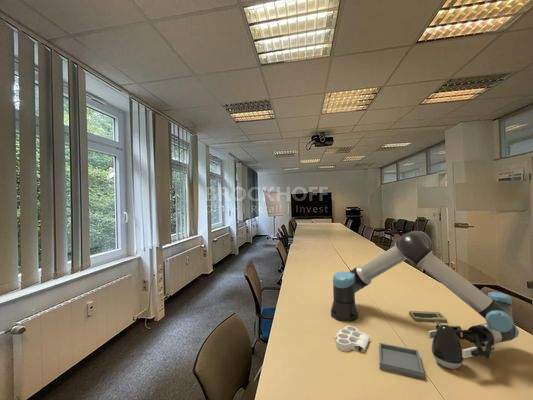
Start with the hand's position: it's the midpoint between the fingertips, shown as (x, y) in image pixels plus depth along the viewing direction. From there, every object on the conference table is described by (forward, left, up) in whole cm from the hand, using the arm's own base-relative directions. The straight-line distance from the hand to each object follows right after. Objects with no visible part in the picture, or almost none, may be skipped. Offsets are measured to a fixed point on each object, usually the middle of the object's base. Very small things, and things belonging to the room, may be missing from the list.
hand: (445, 343), depth 96 cm
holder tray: (-16, -5, -8) cm, 19 cm away
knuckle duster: (-35, +3, -9) cm, 37 cm away
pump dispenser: (+1, +1, -9) cm, 9 cm away
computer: (+1, +42, -9) cm, 43 cm away
